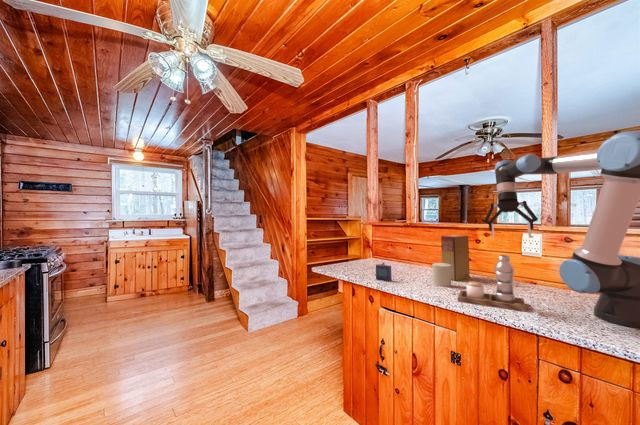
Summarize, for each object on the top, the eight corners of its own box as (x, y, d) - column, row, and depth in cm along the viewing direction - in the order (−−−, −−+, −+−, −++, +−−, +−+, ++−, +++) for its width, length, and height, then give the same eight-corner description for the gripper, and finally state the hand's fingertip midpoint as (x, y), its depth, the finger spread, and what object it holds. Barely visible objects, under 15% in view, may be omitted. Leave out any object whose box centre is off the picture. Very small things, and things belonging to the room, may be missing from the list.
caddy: (523, 305, 110) (523, 298, 110) (525, 314, 101) (525, 306, 101) (461, 296, 123) (461, 290, 123) (458, 303, 114) (457, 296, 114)
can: (453, 289, 135) (453, 265, 135) (434, 288, 137) (434, 265, 137) (448, 284, 144) (448, 262, 144) (430, 283, 146) (430, 261, 146)
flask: (392, 280, 154) (391, 262, 154) (390, 281, 152) (390, 262, 152) (376, 278, 159) (376, 260, 159) (375, 280, 156) (374, 261, 156)
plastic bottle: (516, 308, 104) (515, 257, 104) (495, 305, 108) (494, 256, 108) (514, 303, 110) (513, 255, 110) (495, 300, 114) (493, 254, 113)
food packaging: (456, 274, 164) (455, 234, 163) (470, 278, 155) (469, 235, 155) (441, 277, 158) (440, 235, 158) (455, 281, 149) (454, 236, 149)
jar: (484, 299, 116) (483, 282, 116) (483, 303, 111) (483, 285, 110) (467, 296, 119) (467, 280, 119) (466, 300, 114) (465, 283, 114)
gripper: (539, 191, 122) (545, 237, 118) (476, 197, 136) (480, 238, 131) (541, 187, 116) (548, 235, 112) (475, 193, 130) (479, 237, 125)
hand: (511, 237), depth 122 cm, fingers open, 13 cm apart
